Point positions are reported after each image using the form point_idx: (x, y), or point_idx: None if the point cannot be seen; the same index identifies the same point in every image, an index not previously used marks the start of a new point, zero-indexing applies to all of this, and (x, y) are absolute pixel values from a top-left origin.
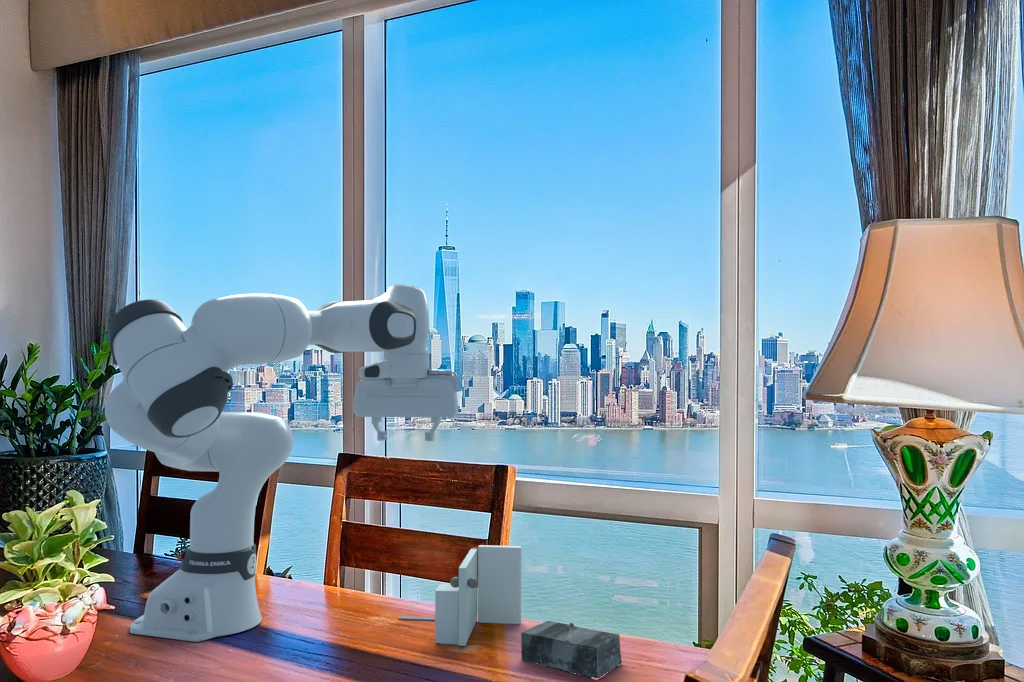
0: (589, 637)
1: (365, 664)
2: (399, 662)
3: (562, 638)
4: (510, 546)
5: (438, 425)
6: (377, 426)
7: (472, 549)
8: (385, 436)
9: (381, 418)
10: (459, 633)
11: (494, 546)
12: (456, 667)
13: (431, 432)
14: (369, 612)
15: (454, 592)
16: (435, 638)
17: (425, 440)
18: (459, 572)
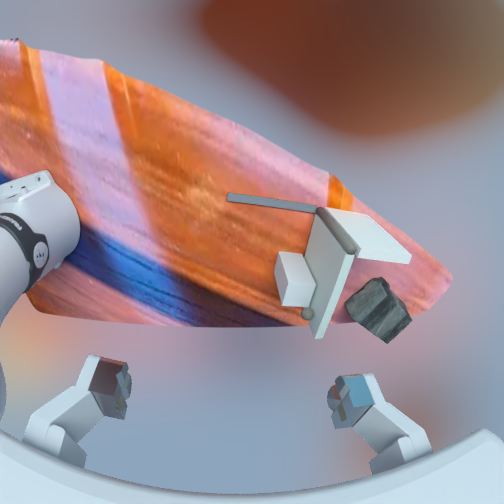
0: (392, 326)
1: (214, 313)
2: (242, 310)
3: (374, 330)
4: (399, 257)
5: (412, 421)
6: (85, 434)
7: (347, 256)
8: (122, 384)
9: (61, 447)
10: None
11: (379, 257)
12: (291, 317)
13: (360, 424)
14: (184, 172)
15: (303, 306)
16: (274, 274)
17: (328, 397)
18: (313, 335)
